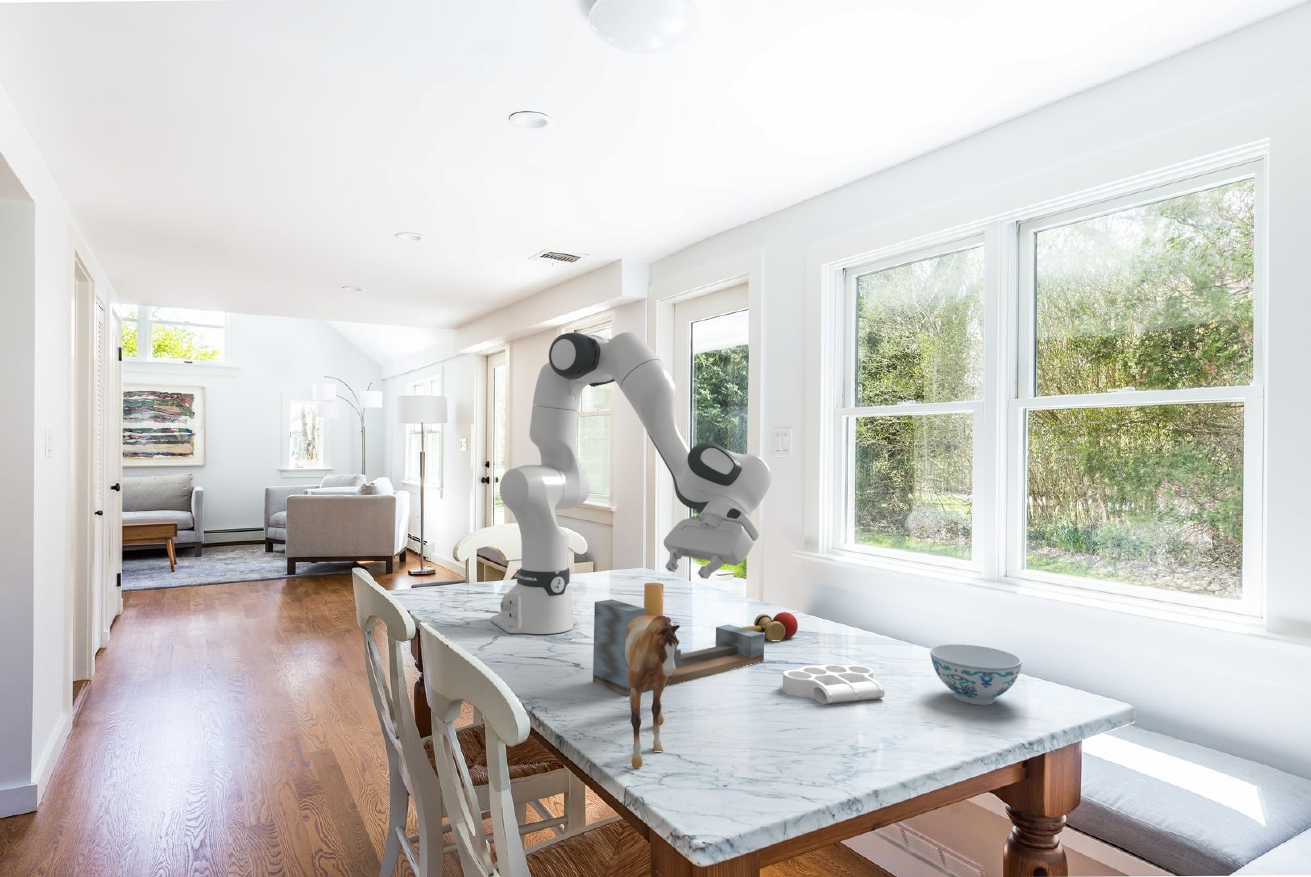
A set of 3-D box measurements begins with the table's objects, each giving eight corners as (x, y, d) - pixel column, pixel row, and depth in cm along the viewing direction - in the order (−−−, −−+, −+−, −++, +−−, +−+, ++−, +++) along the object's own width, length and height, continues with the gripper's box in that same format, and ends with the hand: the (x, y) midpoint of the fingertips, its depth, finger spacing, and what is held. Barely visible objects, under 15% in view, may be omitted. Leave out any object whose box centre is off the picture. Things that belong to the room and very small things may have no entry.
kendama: (737, 653, 165) (807, 636, 172) (732, 624, 166) (801, 608, 172) (723, 651, 172) (790, 634, 179) (718, 623, 173) (784, 608, 180)
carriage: (624, 660, 141) (626, 583, 141) (652, 654, 146) (654, 579, 146) (651, 670, 135) (653, 589, 135) (680, 663, 140) (682, 585, 140)
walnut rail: (590, 682, 137) (592, 602, 138) (728, 651, 161) (729, 582, 161) (627, 698, 129) (629, 612, 129) (767, 662, 153) (768, 590, 153)
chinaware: (974, 682, 143) (975, 641, 143) (1041, 707, 129) (1041, 663, 129) (911, 689, 137) (912, 647, 137) (973, 717, 123) (974, 670, 123)
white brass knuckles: (810, 710, 126) (769, 684, 140) (899, 701, 132) (852, 677, 146) (811, 690, 126) (770, 666, 140) (900, 682, 132) (852, 659, 146)
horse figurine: (676, 783, 97) (680, 623, 97) (616, 781, 97) (620, 622, 97) (673, 702, 128) (675, 581, 128) (627, 701, 128) (630, 580, 128)
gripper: (679, 506, 159) (643, 555, 152) (751, 514, 143) (713, 569, 137) (694, 526, 162) (659, 575, 155) (766, 536, 146) (730, 591, 140)
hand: (685, 572), depth 146 cm, fingers open, 8 cm apart
